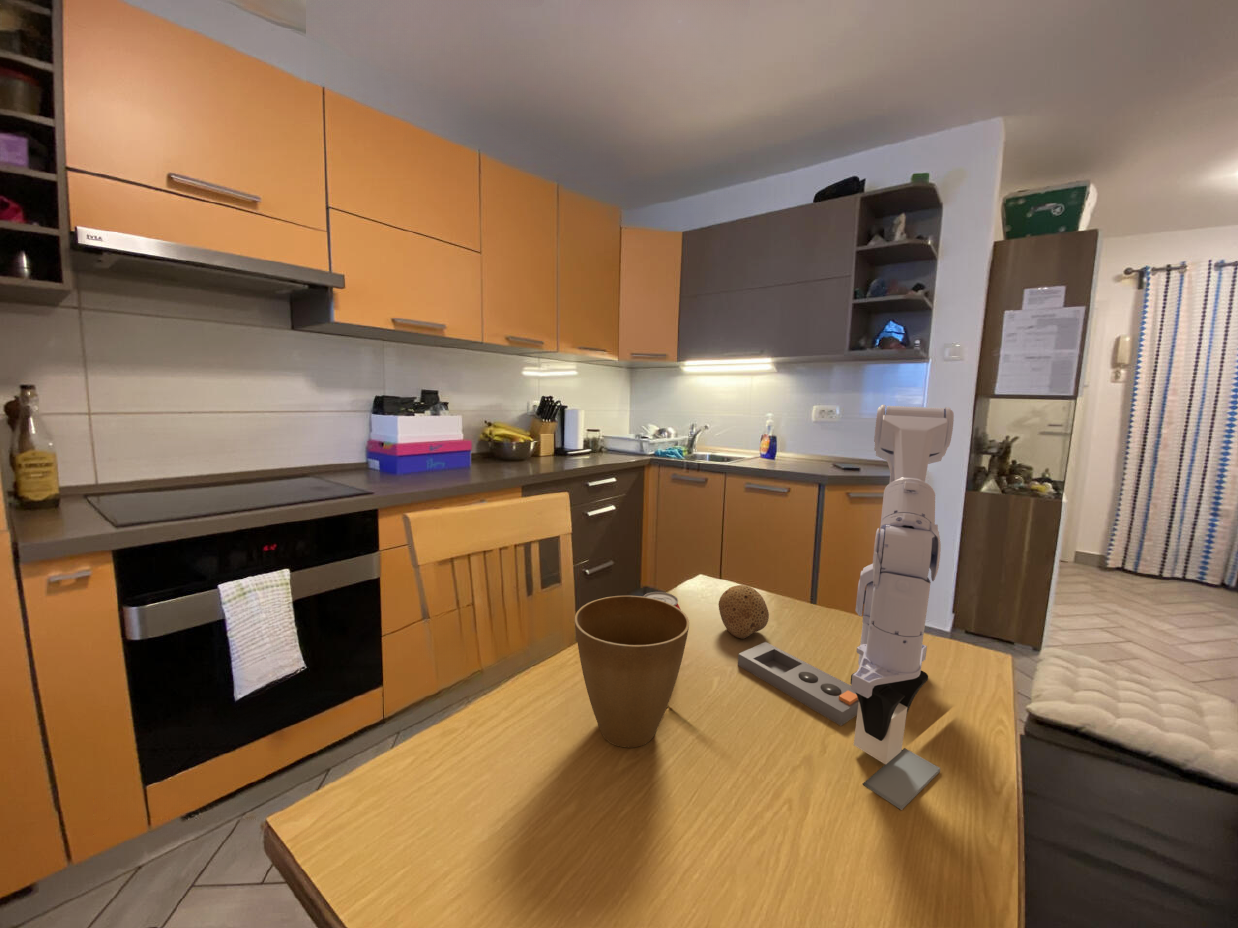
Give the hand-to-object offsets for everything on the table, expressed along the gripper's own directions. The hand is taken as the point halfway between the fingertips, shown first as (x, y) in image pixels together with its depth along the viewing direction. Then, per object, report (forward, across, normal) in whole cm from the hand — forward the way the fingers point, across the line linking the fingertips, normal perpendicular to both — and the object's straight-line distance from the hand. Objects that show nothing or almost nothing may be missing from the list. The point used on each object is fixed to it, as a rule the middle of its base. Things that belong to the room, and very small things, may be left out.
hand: (883, 728), depth 62 cm
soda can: (+5, +9, -32) cm, 34 cm away
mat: (+5, 0, 0) cm, 5 cm away
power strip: (+5, -5, -15) cm, 17 cm away
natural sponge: (+5, -11, -31) cm, 33 cm away
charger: (+3, 0, 0) cm, 3 cm away
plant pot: (+5, +22, -23) cm, 32 cm away
